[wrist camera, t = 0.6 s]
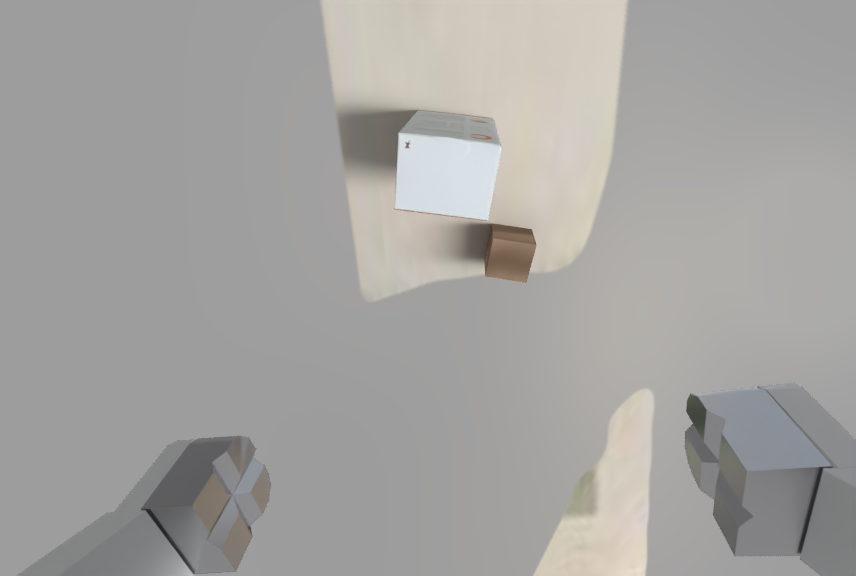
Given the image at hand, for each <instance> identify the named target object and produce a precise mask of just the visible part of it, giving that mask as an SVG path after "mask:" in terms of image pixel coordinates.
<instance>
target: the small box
mask: <svg viewBox="0 0 856 576" xmlns="http://www.w3.org/2000/svg"><path fill="white" fill-rule="evenodd" d="M501 149H502V146H501V143H500V139H499V135H498V132H497V128H496V124H495V121H494V119H490V118H483V117H475V116H466V115H458V114H449V113H440V112H431V111H420V110H418V111H417V112H416V113H415V114H414V115H413V116H412V117H411V119H410V120H409V121H408V122H407V123H406V125H405V126H404V127H403V128H402V129H401V130H400V131H399V132H398V146H397V168H396V189H395V205H394V209H396V210H404V211H412V212H420V213H428V214H436V215H444V216H451V217H460V218H468V219H476V220H485V221H487V220H488V218H489V213H490V207H491V202H492V197H493V192H494V186H495V181H496V176H497V171H498V166H499V160H500V155H501Z"/></svg>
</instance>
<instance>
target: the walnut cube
mask: <svg viewBox="0 0 856 576" xmlns="http://www.w3.org/2000/svg"><path fill="white" fill-rule="evenodd" d="M535 248H536V242H535V239H534V235H533V232H532V230H531V229H525V228H518V227H512V226H505V225H499V224H492V227H491V232H490V236H489V241H488V246H487V251H486V256H485V276H487V277H494V278H500V279H506V280H513V281H519V282H525V283H526V282H527V278H528V275H529V271H530V267H531V263H532V260H533V256H534V252H535Z"/></svg>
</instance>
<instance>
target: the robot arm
mask: <svg viewBox="0 0 856 576" xmlns="http://www.w3.org/2000/svg"><path fill="white" fill-rule="evenodd" d="M686 412H687V414H688V415H689V417H690V419H691V421H692V422H693V424H692V425H691V427H689V428H688V429H687V431H685V449H686V454H687V460H688V464H689V466H690V469H691V472H692V474H693V477H694V479H695V481H696V483H697V485H698V487H699V489H700V490H701V491H702V492H704V493H705V494H707V495H708V496H709V497H711V498H712V499H714V509H713V516H714V518H715V520H716V522H717V524H718V526H719V527H720V529H721V531H722V533H723V535H724V537H725V539H726V541H727V543H728V544H729V546H730V548H731V550H732V552H733V554H734V556H800V560H801V561H803V562H804V563H805V564H806V565H808V566H809V567H810V568H811V569H813V570H814V571H815V572H816V573H818V574H819V575H820V576H856V439H855V438H854V437H853V436H852V435H851V434H849V432H848V431H847V430H846V429H845V428H844V427H843V426H842V425H841V424H840V423H838V421H836V420H835V419H834V418H833V417H832V416H831V415H830V414H829V413H828V412H827V411H826V410H825V409H824V408H823V407H822V406H821V405H820V404H819V403H818V402H817V401H816V400H815V399H814V398H813V397H812V396H811V395H810V394H809V393H808V392H807V391H806V390H805V389H804V388H803V387H802V386H800V385H798V384H795V383H787V384H777V385H768V386H758V387H757V388H755V387H751V388H741V389H732V390H722V391H712V392H702V393H693V394H690V395H689V397H688V400H687V409H686ZM255 451H256V448H255V446H254V445H253V443H252V442H251V440H250V439H249V437H245V436H229V437H214V438H199V439H194V440H193V439H192V440H177V441H175V442H173V443H171V444H169V445H168V446H167V447H166V448H165V449H164V451H163V452H162V453H161V454H160V456H159V457H158V458H157V459H156V460H155V462H154V463H153V464H152V466H151V467H150V468H149V469H148V470H147V472H146V473H145V474H144V475H143V477H142V478H141V479H140V481H139V482H138V483H137V484H136V485H135V487H134V488H133V489H132V490H131V492H130V493H129V494H128V495H127V496H126V498H125V499H124V500H123V501H122V503H121V504H120V505H119V506H118V508H117V509H116V510H115V511H114V512H110V513H106V514H104V515H103V516H101V517H100V518H99V519H97V520H96V521H94V522H93V523H91V524H90V525H88V526H87V527H85V528H84V529H83V530H81V531H80V532H78V533H77V534H76V535H74V536H73V537H71V538H70V539H68V540H67V541H65V542H64V543H62V544H61V545H60V546H58V547H57V548H55V549H54V550H52V551H51V552H50V553H48V554H47V555H45V556H44V557H42V558H41V559H39V560H38V561H37V562H35V563H34V564H32V565H31V566H29V567H28V568H26V569H25V570H24V571H22V572H21V573H19V574H18V575H17V576H194V574H205V573H221V572H235V571H236V570H237V568H238V566H239V564H240V562H241V560H242V558H243V555H244V553H245V551H246V549H247V547H248V545H249V543H250V541H251V539H252V531H251V525H252V524H253V523H254V522H255V521H256V520H257V519H258V518H259V517H261V516H262V515H263V513H264V510H265V508H266V506H267V504H268V501H269V496H270V489H271V482H270V477H269V473H268V471H267V469H266V467H265V465H264V464H262V463H261V462H259V461H258V460H256V459H255V458H253V457H254V454H255Z"/></svg>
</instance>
